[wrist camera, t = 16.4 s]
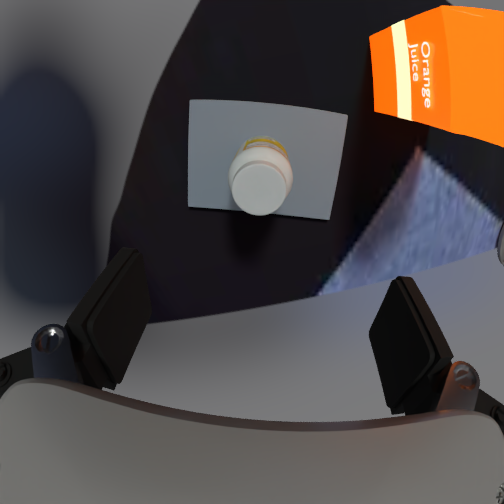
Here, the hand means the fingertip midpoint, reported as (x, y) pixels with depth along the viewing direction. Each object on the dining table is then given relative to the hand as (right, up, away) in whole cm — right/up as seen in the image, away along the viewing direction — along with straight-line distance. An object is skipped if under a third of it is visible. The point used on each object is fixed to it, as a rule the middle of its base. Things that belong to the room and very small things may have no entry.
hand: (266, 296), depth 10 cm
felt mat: (+1, +11, +18) cm, 22 cm away
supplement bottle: (0, +11, +18) cm, 21 cm away
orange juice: (+16, +20, +12) cm, 28 cm away
